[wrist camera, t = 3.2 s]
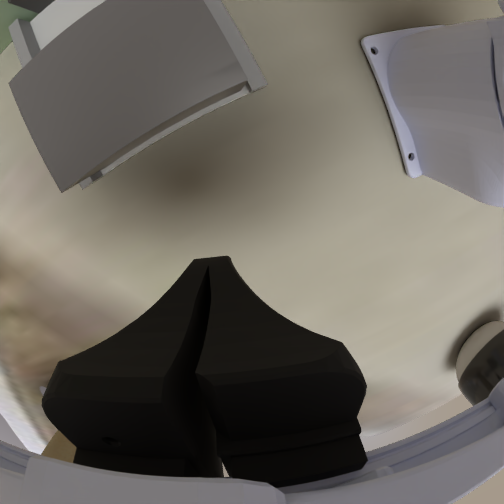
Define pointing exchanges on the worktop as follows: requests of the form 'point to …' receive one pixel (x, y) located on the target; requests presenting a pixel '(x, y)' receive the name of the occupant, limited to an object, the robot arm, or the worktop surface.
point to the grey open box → (122, 81)
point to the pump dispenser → (481, 362)
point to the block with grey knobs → (77, 5)
